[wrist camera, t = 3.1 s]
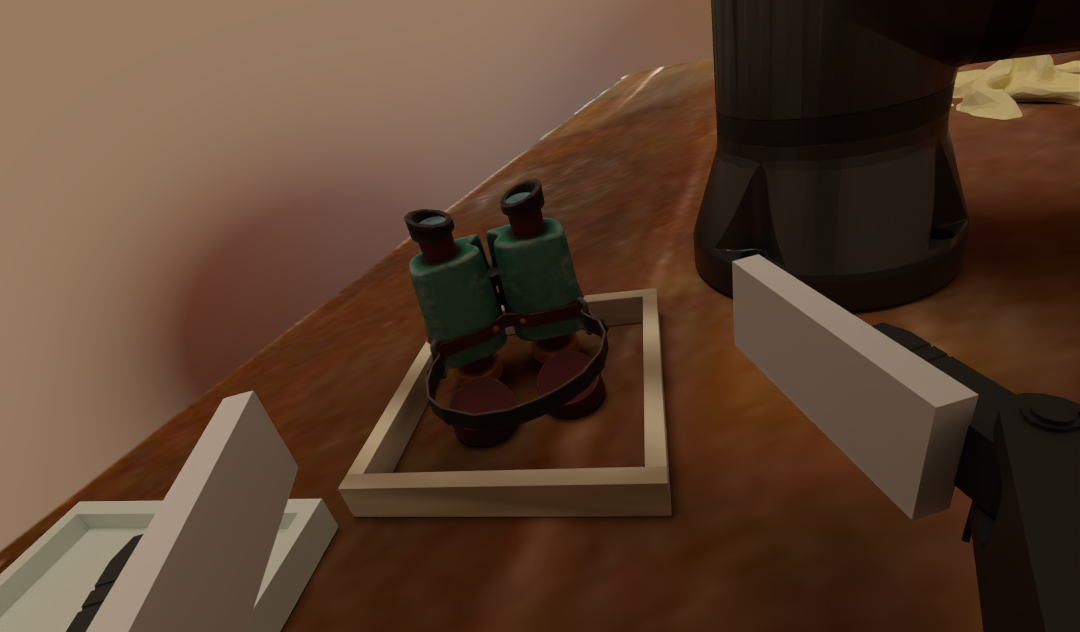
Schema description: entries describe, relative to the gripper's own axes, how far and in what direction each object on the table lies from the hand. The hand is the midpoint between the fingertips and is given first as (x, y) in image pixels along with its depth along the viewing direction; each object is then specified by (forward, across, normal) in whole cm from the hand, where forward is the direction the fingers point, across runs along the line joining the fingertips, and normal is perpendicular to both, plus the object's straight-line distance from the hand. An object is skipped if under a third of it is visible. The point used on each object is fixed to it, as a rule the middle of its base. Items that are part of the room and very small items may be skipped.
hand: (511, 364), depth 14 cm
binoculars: (+10, 0, -9) cm, 14 cm away
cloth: (+36, +55, -9) cm, 67 cm away
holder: (+10, 0, -9) cm, 14 cm away
